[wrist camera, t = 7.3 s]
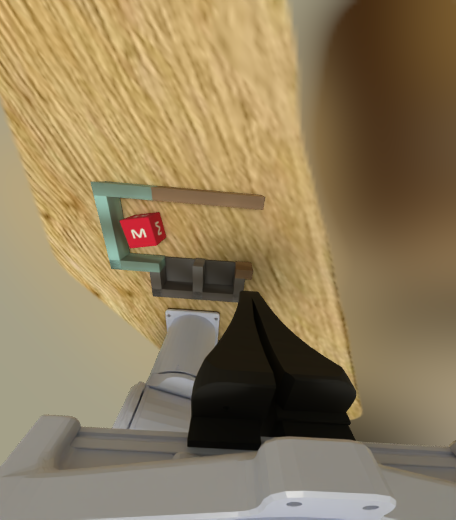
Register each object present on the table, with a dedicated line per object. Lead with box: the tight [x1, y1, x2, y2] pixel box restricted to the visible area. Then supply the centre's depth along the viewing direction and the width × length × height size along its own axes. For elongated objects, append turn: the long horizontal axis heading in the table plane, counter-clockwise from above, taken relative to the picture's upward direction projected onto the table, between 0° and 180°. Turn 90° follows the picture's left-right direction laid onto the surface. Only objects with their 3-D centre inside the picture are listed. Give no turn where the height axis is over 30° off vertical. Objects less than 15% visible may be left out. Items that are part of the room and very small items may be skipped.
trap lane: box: [91, 181, 265, 302], centre depth 20 cm, size 13×17×2 cm
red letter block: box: [120, 212, 166, 248], centre depth 19 cm, size 3×3×3 cm
